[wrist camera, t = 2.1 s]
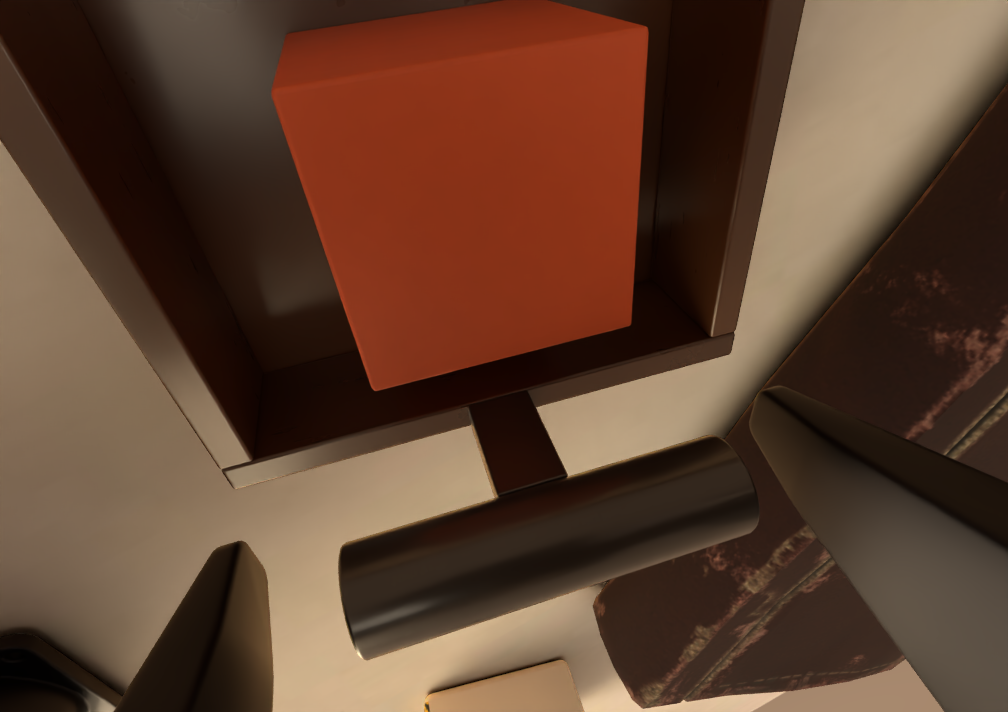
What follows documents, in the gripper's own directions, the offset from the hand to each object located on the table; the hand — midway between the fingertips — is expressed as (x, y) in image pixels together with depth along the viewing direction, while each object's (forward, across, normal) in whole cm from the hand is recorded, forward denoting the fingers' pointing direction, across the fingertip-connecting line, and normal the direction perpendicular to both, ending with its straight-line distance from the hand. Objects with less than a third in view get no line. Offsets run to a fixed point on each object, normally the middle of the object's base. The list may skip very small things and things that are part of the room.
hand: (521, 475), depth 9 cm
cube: (+4, 0, -4) cm, 6 cm away
